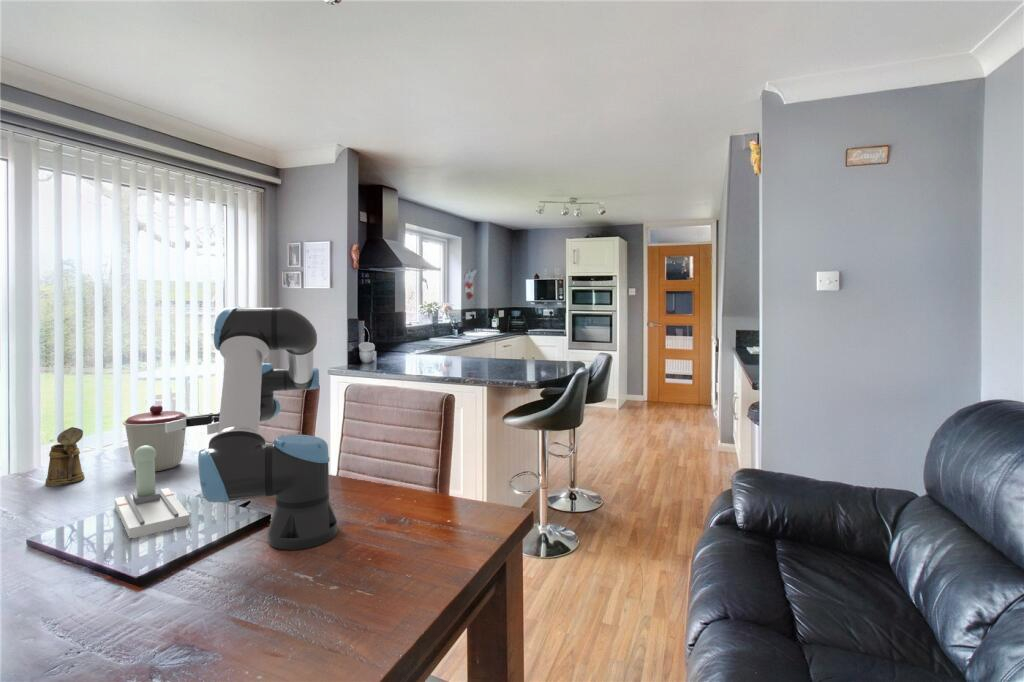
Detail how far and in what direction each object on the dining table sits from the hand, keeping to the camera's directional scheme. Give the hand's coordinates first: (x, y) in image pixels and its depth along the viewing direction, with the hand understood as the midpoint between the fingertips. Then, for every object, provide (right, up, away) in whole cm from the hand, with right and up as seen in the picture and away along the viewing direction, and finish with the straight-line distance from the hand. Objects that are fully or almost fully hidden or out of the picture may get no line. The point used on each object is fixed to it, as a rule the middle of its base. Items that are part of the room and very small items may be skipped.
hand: (187, 428), depth 143 cm
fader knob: (-6, -17, -7) cm, 20 cm away
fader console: (-2, -20, -11) cm, 23 cm away
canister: (-28, -18, +29) cm, 44 cm away
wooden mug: (-45, -19, +13) cm, 50 cm away
